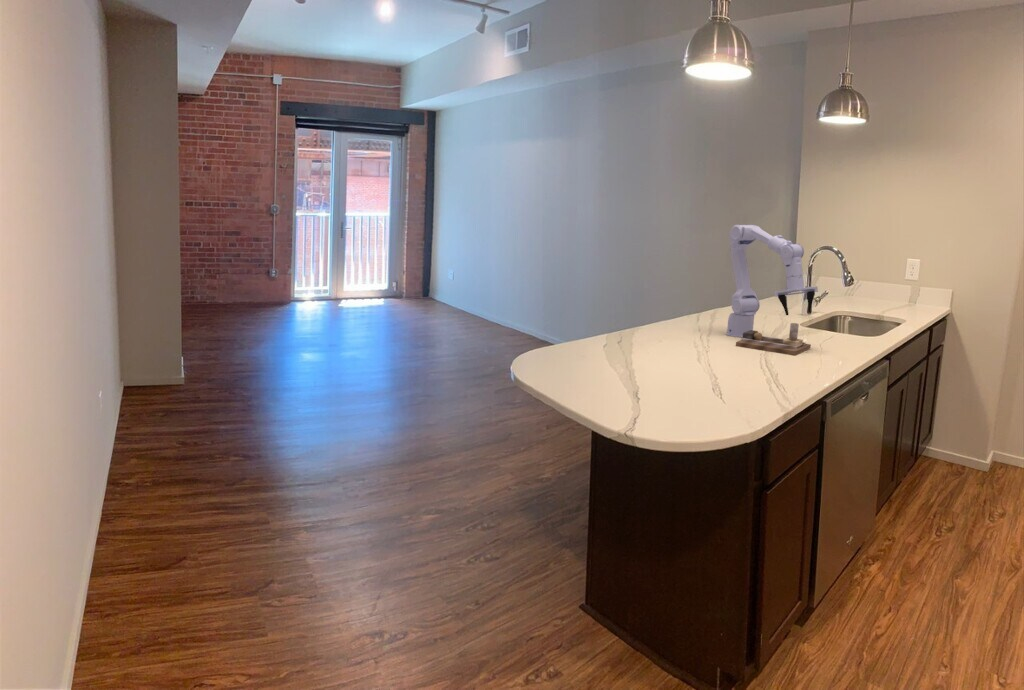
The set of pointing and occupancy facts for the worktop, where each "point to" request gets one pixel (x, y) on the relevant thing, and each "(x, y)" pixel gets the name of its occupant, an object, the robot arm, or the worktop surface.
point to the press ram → (793, 336)
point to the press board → (769, 344)
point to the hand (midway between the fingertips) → (798, 314)
